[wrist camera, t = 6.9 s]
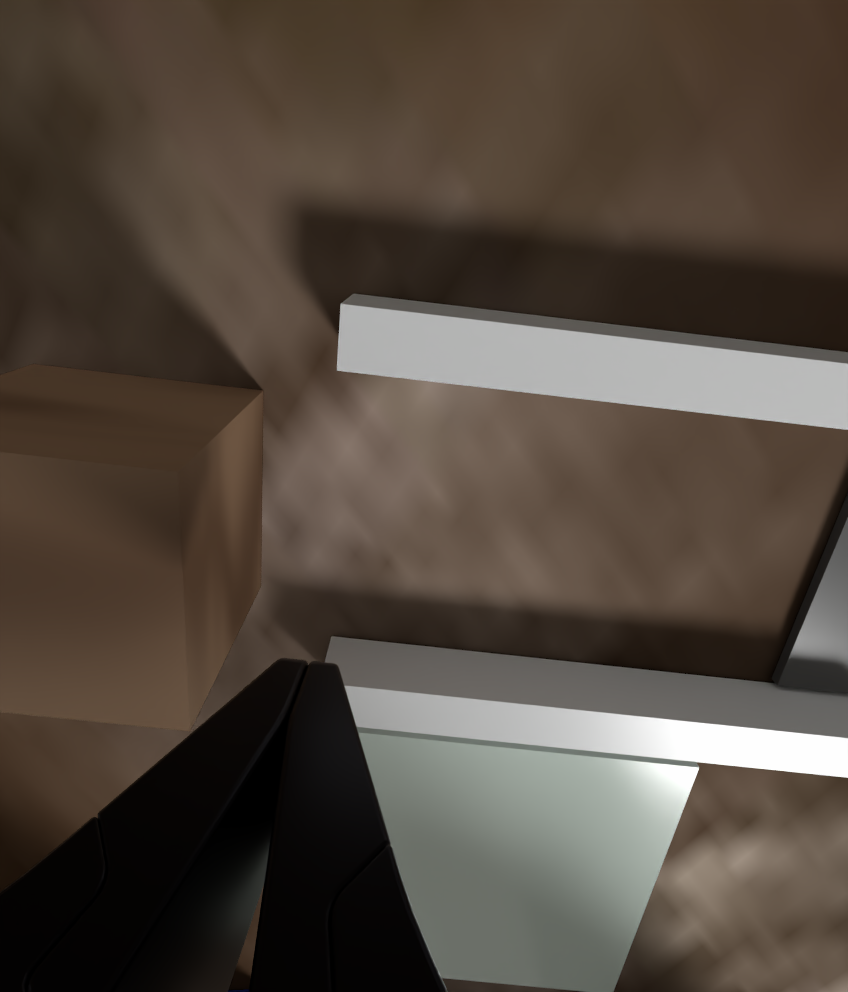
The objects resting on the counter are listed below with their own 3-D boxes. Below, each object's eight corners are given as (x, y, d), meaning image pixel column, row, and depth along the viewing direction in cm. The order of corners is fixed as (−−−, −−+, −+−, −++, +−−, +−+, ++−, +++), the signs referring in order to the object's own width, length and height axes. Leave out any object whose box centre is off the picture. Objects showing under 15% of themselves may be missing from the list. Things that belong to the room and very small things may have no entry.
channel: (846, 727, 17) (889, 781, 15) (328, 673, 17) (316, 722, 15) (1019, 372, 13) (1102, 393, 12) (353, 293, 13) (340, 303, 11)
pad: (606, 967, 21) (612, 994, 21) (312, 939, 21) (307, 965, 20) (688, 744, 17) (699, 767, 17) (326, 707, 17) (321, 728, 16)
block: (261, 584, 16) (189, 731, 11) (61, 562, 16) (-94, 702, 11) (264, 389, 14) (177, 471, 9) (35, 362, 14) (-168, 433, 9)
